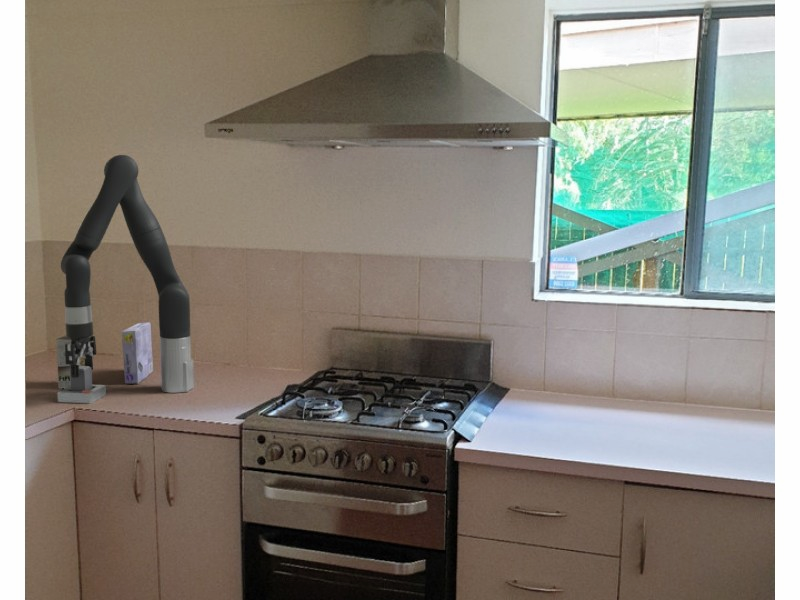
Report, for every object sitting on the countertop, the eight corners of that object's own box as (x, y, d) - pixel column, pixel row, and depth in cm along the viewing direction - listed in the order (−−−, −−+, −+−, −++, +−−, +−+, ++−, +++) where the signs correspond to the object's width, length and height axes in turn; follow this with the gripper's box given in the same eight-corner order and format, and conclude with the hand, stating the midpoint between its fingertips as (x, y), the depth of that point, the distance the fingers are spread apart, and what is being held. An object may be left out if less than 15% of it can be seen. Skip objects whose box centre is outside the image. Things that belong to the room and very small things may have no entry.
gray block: (78, 396, 235) (77, 365, 234) (92, 396, 235) (91, 365, 233) (71, 399, 231) (70, 368, 229) (85, 400, 230) (84, 369, 229)
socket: (106, 394, 237) (105, 382, 237) (90, 403, 227) (89, 391, 227) (75, 393, 238) (74, 381, 238) (57, 402, 228) (57, 390, 228)
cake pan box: (140, 370, 268) (138, 320, 266) (154, 370, 269) (153, 321, 266) (122, 384, 249) (120, 331, 247) (138, 384, 250) (136, 331, 247)
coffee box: (78, 389, 243) (75, 339, 241) (57, 388, 243) (55, 338, 241) (90, 382, 252) (88, 333, 250) (70, 381, 252) (68, 333, 250)
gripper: (79, 325, 222) (83, 380, 224) (102, 316, 236) (105, 368, 238) (54, 325, 222) (58, 379, 225) (78, 316, 236) (82, 368, 239)
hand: (82, 373), depth 232 cm, fingers open, 8 cm apart
